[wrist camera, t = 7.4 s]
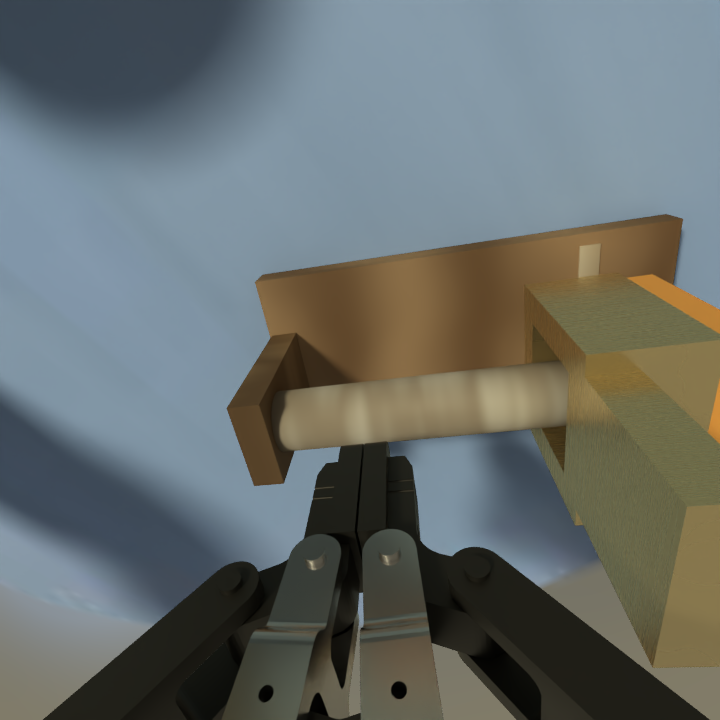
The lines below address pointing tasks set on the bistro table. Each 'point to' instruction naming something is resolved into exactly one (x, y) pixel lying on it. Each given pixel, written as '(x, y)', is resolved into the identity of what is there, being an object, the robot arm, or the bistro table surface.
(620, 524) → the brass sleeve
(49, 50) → the bistro table surface
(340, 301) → the pipe board
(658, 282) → the orange upright board
